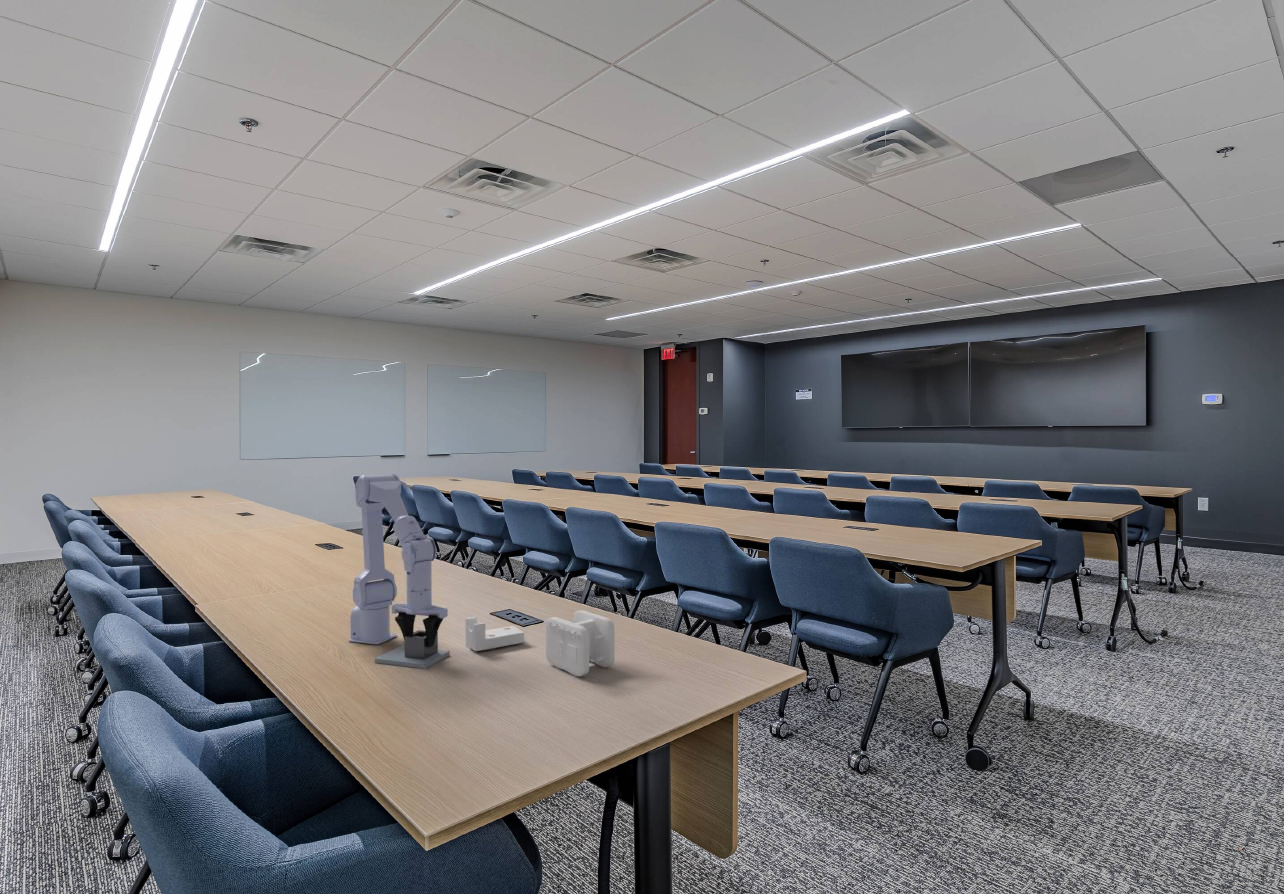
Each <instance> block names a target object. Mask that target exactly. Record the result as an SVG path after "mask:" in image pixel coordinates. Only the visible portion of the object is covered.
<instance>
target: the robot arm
mask: <svg viewBox="0 0 1284 894" xmlns="http://www.w3.org/2000/svg"><path fill="white" fill-rule="evenodd" d="M354 488H355V490H354V491H355V504H356V507H359V508H360V509H361V520H362V521H361V526H362V540H363V543H362V544H363V560H364V561H363V562H364V563H363V564H364V569H363V570H362V571H361V572H360V573H359V574H357V575H356V577H355V578H354V580H353V589H352V599H353V602H354V603H353V604H355V607H353V609H352V611H351V613H350V638H349V639H347V640H348V642H352V643H360V644H361V643H362V644H370V645H380V644H383V643H385V642H387V641H389V640H391V639H393V638H397V636H398V634H397V633H391V627H390V626H391V623H390V617H391V616H390V613H391V614H392V615H396V614H397V616H395V617H394V621H395V622H396V624H397V625H398V628H399V629H400V631H401V633H402V637H403V638H404V637H405V636H407V635H409V634H411V633H413V632H415V631H414V630H415V629H414V626H415V621H416V617H417V616H424V617H426V618H423V619H422V623H423V627H424V629H425V630H424V631H426V645H427V647H431V646H433V645H434V643H435V638H436V635H437V632H439V629H440V626H441V624H442V623H443V621H444V619H445V618H447V617H448V615H449V614H448V607H445V608H444V607H441V606H437V605H433V598H432V597H433V596H432V593H433V591H432V561H435V560H436V555H437V546H436V544H435V541H434V539H433V538H432V537H429V536H428V534H424V532H423V529H421V526H420V525H419V523H418V520H417V519H416V518H415V517H414V516H413V515H409V513H408V511H407V508H406V506H405V503H404V500H403V499H402V497H401V494H402V481H401V479H400V478H399V476H398V474H396V473H391V474H373V475H371V474H370V475H363V474H362V475H360V476H359V477H358V479H357V480H356V482H355V485H354ZM384 508H385V509H386V511H387V512H388V513H389V516H390V517H391V519H392V520H393V522H394V523H393V525H392V530H393V532H394V534H395V535H396V537H397V540H398V541H399V543H400V545H401V547H402V548H401V552H400V553H401V559H402V561H403V569H404V571H405V572H406V603H395V604H393V602H394V601H395V599H396V597H397V595H398V587H397V584H396V580H395V575H394V574H393V573H392V572H391V571H389V570H388V569H386V568H385V566H386V565H385V563H386V562H385V550H384V549H385V548H384V547H385V545H384V529H383V528H384V527H383V509H384ZM390 606H391V607H390ZM390 608H391V610H390ZM390 611H391V612H390Z"/></svg>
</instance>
